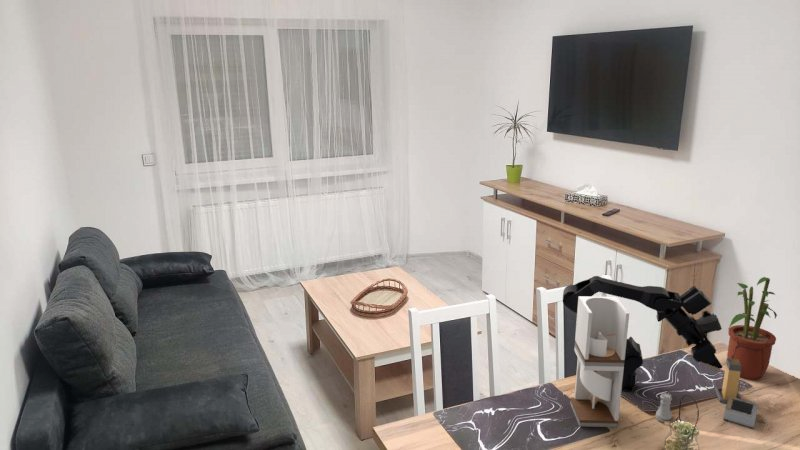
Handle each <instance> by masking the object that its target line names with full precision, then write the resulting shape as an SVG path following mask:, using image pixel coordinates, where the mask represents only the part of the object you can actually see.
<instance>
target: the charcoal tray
mask: <svg viewBox="0 0 800 450" xmlns="http://www.w3.org/2000/svg"><path fill="white" fill-rule="evenodd" d="M714 391H715V394H716V396H717V398H718V401H719V403H723V404H727V402H728V399H724V398H723V396H722V387H716V386H715V388H714ZM736 398H739V399H742V397H741V395H740V393H739V391H738V390H737V396H736Z"/></svg>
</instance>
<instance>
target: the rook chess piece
mask: <svg viewBox="0 0 800 450" xmlns="http://www.w3.org/2000/svg"><path fill="white" fill-rule="evenodd" d="M659 399H660V401H659V402H660V405H659V408H658V409H657V410H656V412H655V415H654V417H655V419H656V420H657V422H661V423H663V424H664V423H665V421H669V420H671V419H672V418H673V414H672V412H671V407H670V406H671V405H672V403H671V401H673V397H672V394H670V393H669V392H668V393H667V392H666V391H665V392H662V393H661V394H660V395H659Z"/></svg>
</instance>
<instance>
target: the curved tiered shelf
mask: <svg viewBox="0 0 800 450" xmlns="http://www.w3.org/2000/svg"><path fill="white" fill-rule="evenodd" d="M629 321H630V312H629V311H628V309H626V307H625V306H624V304H623V303H622V302H621V301H620V299H619V298H618V296H578V309H577V313H576V323H575V337H574V338H575V339H574V347H573V348H574V350H573V351H574V353H575V355H576V356H577V361H576V362H577V363H576V372H575V373H576V374H575V375H576V376H575V387H574V397H570V398H569V399H570V401H569V405H570V406H571V409H572V411H573V414H574V417H575V419H576V421H577V424H578V426H579V427H594V428H595V427H597V428H598V427H599V428H600V427H601V428H602V427H603V428H604V427H605V428H618V426H619V415H620V408H621V397H622V390H621V389H622V380H623V370H624V361H625V351H626V342H627V339H628V330H629Z"/></svg>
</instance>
